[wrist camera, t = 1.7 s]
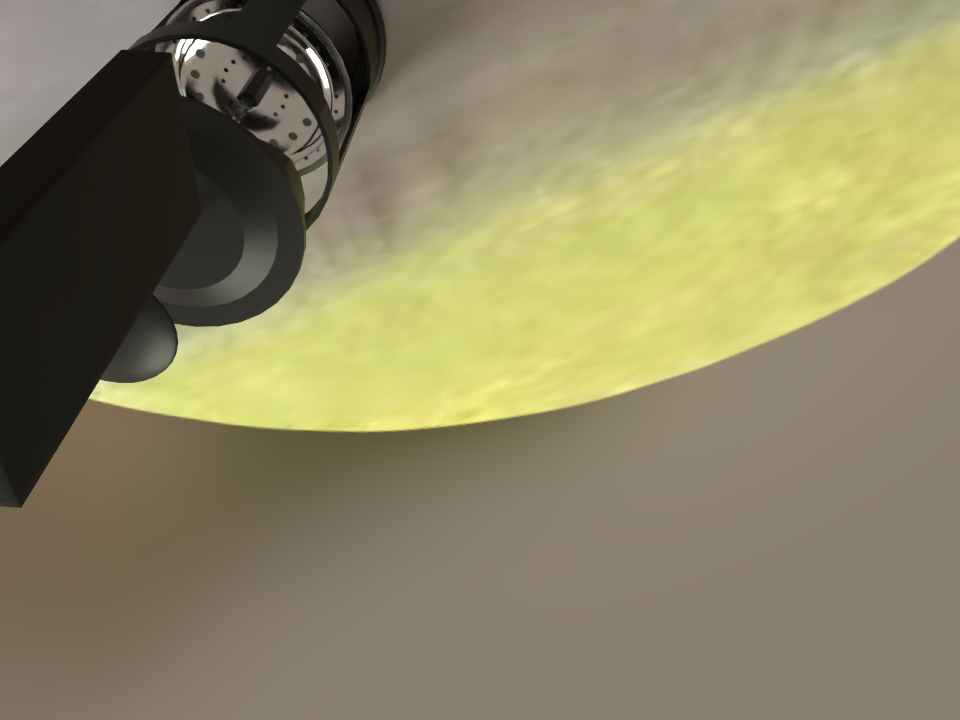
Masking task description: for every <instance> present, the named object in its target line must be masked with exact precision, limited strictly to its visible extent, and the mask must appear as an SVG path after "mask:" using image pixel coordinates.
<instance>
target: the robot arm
mask: <svg viewBox="0 0 960 720" xmlns="http://www.w3.org/2000/svg"><path fill="white" fill-rule="evenodd" d="M202 212H203V211H202V205H201V200H200V195H199V190H198V185H197V180H196V175H195V170H194V165H193V160H192V155H191V150H190V145H189V140H188V135H187V130H186V125H185V120H184V115H183V110H182V105H181V100H180V95H179V90H178V85H177V80H176V75H175V70H174V65H173V60H172V55H171V52H154V51H134V50H121V51H120V52H119V53H118V54H117V55H116V56H115V57H114V58H112V59H111V60H110V61H109V62H108V63H107V64H106V65H105V66H104V67H103V68H102V69H101V70H100V71H99V72H98V73H97V74H96V75H95V76H94V77H93V78H92V79H91V80H90V81H89V82H88V83H87V84H86V85H85V86H84V87H82V88H81V89H80V90H79V91H78V92H77V93H76V94H75V95H74V96H73V97H72V98H71V99H70V100H69V101H68V102H67V103H66V104H65V105H64V106H63V107H62V108H61V109H60V110H59V111H58V112H57V113H56V114H55V115H54V116H53V117H51V118H50V119H49V120H48V121H47V122H46V123H45V124H44V125H43V126H42V127H41V128H40V129H39V130H38V131H37V132H36V133H35V134H34V135H33V136H32V137H31V138H30V139H29V140H28V141H27V142H26V143H25V144H24V145H23V146H21V147H20V148H19V149H18V150H17V151H16V152H15V153H14V154H13V155H12V156H11V157H10V158H9V159H8V160H7V161H6V162H5V163H4V164H3V165H2V166H1V167H0V506H5V507H19V508H21V507H22V506H23V504H24V502H25V501H26V499H27V497H28V496H29V494H30V493H31V491H32V489H33V488H34V486H35V484H36V483H37V481H38V480H39V478H40V476H41V474H42V473H43V471H44V470H45V468H46V466H47V465H48V463H49V462H50V460H51V458H52V457H53V455H54V453H55V452H56V450H57V449H58V447H59V445H60V444H61V442H62V440H63V439H64V437H65V436H66V434H67V432H68V431H69V429H70V427H71V426H72V424H73V422H74V421H75V419H76V418H77V416H78V414H79V413H80V411H81V409H82V408H83V406H84V405H85V403H86V401H87V400H88V398H89V396H90V395H91V393H92V392H93V390H94V388H95V387H96V385H97V383H98V382H99V380H100V378H101V377H102V375H103V374H104V372H105V370H106V369H107V367H108V365H109V364H110V362H111V361H112V359H113V357H114V356H115V354H116V352H117V351H118V349H119V348H120V346H121V344H122V343H123V341H124V339H125V338H126V336H127V334H128V333H129V331H130V330H131V328H132V326H133V325H134V323H135V321H136V320H137V318H138V317H139V315H140V313H141V312H142V310H143V308H144V307H145V305H146V303H147V302H148V300H149V299H150V297H151V295H152V294H153V292H154V290H155V289H156V287H157V286H158V284H159V282H160V281H161V279H162V277H163V276H164V274H165V273H166V271H167V269H168V268H169V266H170V264H171V263H172V261H173V259H174V258H175V256H176V255H177V253H178V251H179V250H180V248H181V246H182V245H183V243H184V242H185V240H186V238H187V237H188V235H189V233H190V232H191V230H192V229H193V227H194V225H195V224H196V222H197V220H198V219H199V217H200V215H201V214H202Z"/></svg>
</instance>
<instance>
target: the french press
mask: <svg viewBox="0 0 960 720" xmlns="http://www.w3.org/2000/svg"><path fill="white" fill-rule="evenodd" d="M305 1H306V0H181V1H180V3H179V4H178V5H177V6H176V7H175V8H174V9H173V10H172V11H171V12H170V13H169V14H168V15H167V16H166V17H165V18H164V19H163V20H162V21H161V22H160V23H159V24H158V25H157V26H156V27H155V28H154V29H153V30H152V31H151V32H150V33H148V34H147V35H145V36H143V37H141V38H140V39H139V40H137V41H136V42H135V43H134V44H133V45H132V46H131V47H130V48H129V49H128V50H134V51H154V52H171V55H172V60H173V65H174V70H175V75H176V80H177V85H178V90H179V95H180V100H181V105H182V110H183V115H184V120H185V125H186V130H187V135H188V140H189V145H190V150H191V155H192V160H193V165H194V170H195V175H196V180H197V185H198V190H199V195H200V200H201V205H202V211H203V212H202V214H201V215H200V217H199V219H198V220H197V222H196V224H195V225H194V227H193V229H192V230H191V232H190V233H189V235H188V237H187V238H186V240H185V242H184V243H183V245H182V246H181V248H180V250H179V251H178V253H177V255H176V256H175V258H174V259H173V261H172V263H171V264H170V266H169V268H168V269H167V271H166V273H165V274H164V276H163V277H162V279H161V281H160V282H159V284H158V286H157V287H156V289H155V290H154V292H153V294H152V295H151V297H150V299H149V300H148V302H147V303H146V305H145V307H144V308H143V310H142V312H141V313H140V315H139V317H138V318H137V320H136V321H135V323H134V325H133V326H132V328H131V330H130V331H129V333H128V334H127V336H126V338H125V339H124V341H123V343H122V344H121V346H120V348H119V349H118V351H117V352H116V354H115V356H114V357H113V359H112V361H111V362H110V364H109V365H108V367H107V369H106V370H105V372H104V374H103V375H102V377H101V378H100V379H101V380H104V381H110V382H117V383H134V382H140V381H145V380H148V379H150V378H153V377H155V376H157V375H158V374H160V373H161V372H163V371H164V370H166V369H167V368H168V366H169V365H170V364H171V363H172V362H173V359H174V357H175V355H176V353H177V346H178V338H177V331H176V328H175V325H174V324H181V325H188V326H195V327H200V326H222V325H228V324H233V323H238V322H242V321H244V320H247V319H249V318H252V317H254V316H257V315H259V314H261V313H263V312H264V311H266V310H267V309H269V308H270V307H271V306H273V305H274V304H276V303H277V302H278V301H279V300H280V299H281V298H282V297H283V296H284V294H285V293H286V292H287V291H288V290H289V289H290V287H291V286H292V284H293V282H294V280H295V278H296V276H297V274H298V272H299V270H300V268H301V265H302V261H303V256H304V252H305V248H306V230H307V229H308V228H309V227H310V226H311V225H312V224H313V222H314V221H315V220H316V219H317V218H318V217H319V215H320V213H321V211H322V209H323V207H324V206H325V204H326V202H327V200H328V197H329V195H330V192H331V190H332V187H333V185H334V182H335V180H336V177H337V175H338V172H339V170H340V167H341V165H342V162H343V160H344V157H345V154H346V152H347V149H348V147H349V144H350V142H351V139H352V137H353V134H354V132H355V129H356V127H357V124H358V122H359V119H360V117H361V114H362V112H363V109H364V107H365V104H366V103H367V102H368V100H369V99H370V98H371V97H372V95H373V93H374V91H375V89H376V87H377V85H378V83H379V81H380V79H381V75H382V72H383V68H384V64H385V57H386V37H385V29H384V23H383V20H382V17H381V14H380V11H379V8H378V5H377V2H376V1H375V0H336V1H337V2H338V4H339V5H340V6H341V7H342V8H343V10H344V11H345V12H346V13H347V15H348V16H349V18H350V20H351V22H352V23H353V25H354V28H355V31H356V37H357V43H358V55H357V63H356V67H355V71H354V73H353V75H352V77H351V79H350V80H349V76H348V73H347V71H346V68H345V65H344V63H343V60H342V58H341V56H340V54H339V52H338V51H337V49H336V47H335V46H334V44H333V42H332V41H331V39H330V38H329V36H328V35H327V34H326V33H325V31H324V30H323V29H322V28H321V27H320V25H319V24H318V23H317V22H316V21H315V20H314V19H313V18H312V17H311V16H309V15H308V14H307V13H306V12H305V11H303V10H302V9H301V8H302V6H303V4H304V3H305ZM343 140H344V141H343ZM342 142H343V143H342ZM341 144H342V146H341ZM340 146H341V148H340ZM339 148H340V150H339ZM327 161H328V180H327V184H326V187H325V190H324V192H323V195H322V197H321V198H320V200H319V201H318V202H317V203H316V204H315V205H314V206H313V208H312V209H311V210H310V211H309V212H307V213H306V214H305V196H304V191H303V187H302V182H301V178H300V176H303V175H305V174H307V173H309V172H312V171H314V170H316V169H317V168H319V167H320V166H321V165H323V164H324V163H325V162H327Z"/></svg>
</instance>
